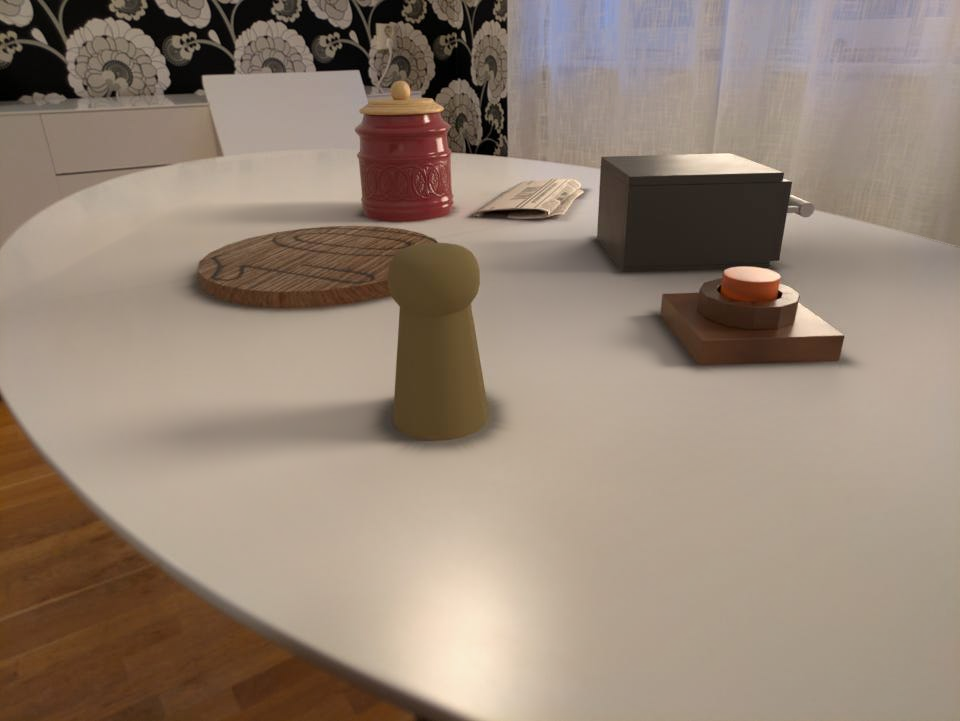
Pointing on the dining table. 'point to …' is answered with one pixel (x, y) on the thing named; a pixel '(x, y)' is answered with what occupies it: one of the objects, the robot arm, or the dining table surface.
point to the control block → (748, 328)
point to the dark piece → (786, 206)
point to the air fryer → (687, 212)
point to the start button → (750, 284)
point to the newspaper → (536, 199)
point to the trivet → (306, 266)
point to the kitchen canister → (404, 158)
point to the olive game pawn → (437, 343)
